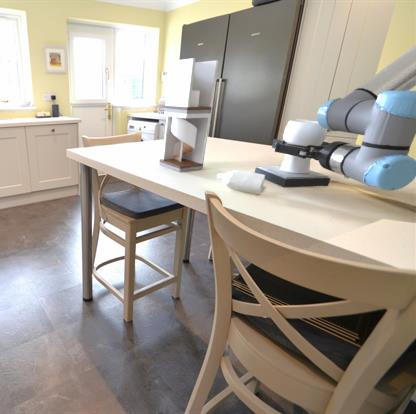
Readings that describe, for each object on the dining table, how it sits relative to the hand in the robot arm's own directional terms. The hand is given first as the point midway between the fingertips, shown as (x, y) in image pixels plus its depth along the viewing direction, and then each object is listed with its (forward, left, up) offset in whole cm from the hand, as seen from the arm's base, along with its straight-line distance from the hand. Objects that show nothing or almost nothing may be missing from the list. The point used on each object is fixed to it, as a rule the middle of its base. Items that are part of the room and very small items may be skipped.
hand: (294, 143), depth 90 cm
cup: (+1, +3, -8) cm, 9 cm away
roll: (+25, +11, -11) cm, 29 cm away
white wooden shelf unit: (+31, -16, -11) cm, 36 cm away
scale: (+2, +3, -11) cm, 12 cm away
